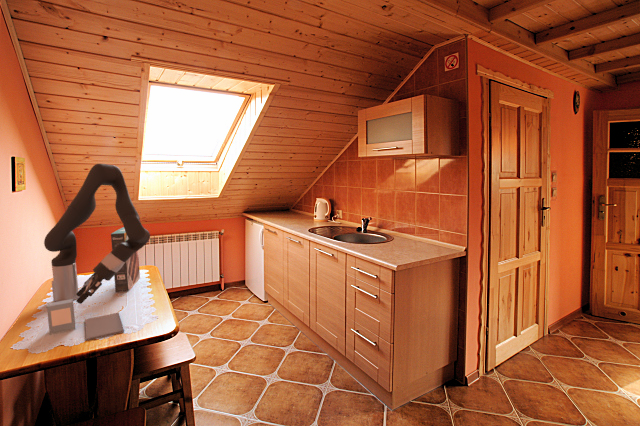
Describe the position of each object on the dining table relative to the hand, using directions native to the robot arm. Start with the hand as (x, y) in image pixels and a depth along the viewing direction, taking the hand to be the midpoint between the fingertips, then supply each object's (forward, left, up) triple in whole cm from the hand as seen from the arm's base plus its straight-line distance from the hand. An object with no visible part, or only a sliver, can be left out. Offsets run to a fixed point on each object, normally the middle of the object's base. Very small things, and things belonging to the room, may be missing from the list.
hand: (78, 299), depth 139 cm
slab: (-4, -4, -11) cm, 12 cm away
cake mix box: (-12, +49, -11) cm, 52 cm away
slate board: (+10, 0, -11) cm, 15 cm away
